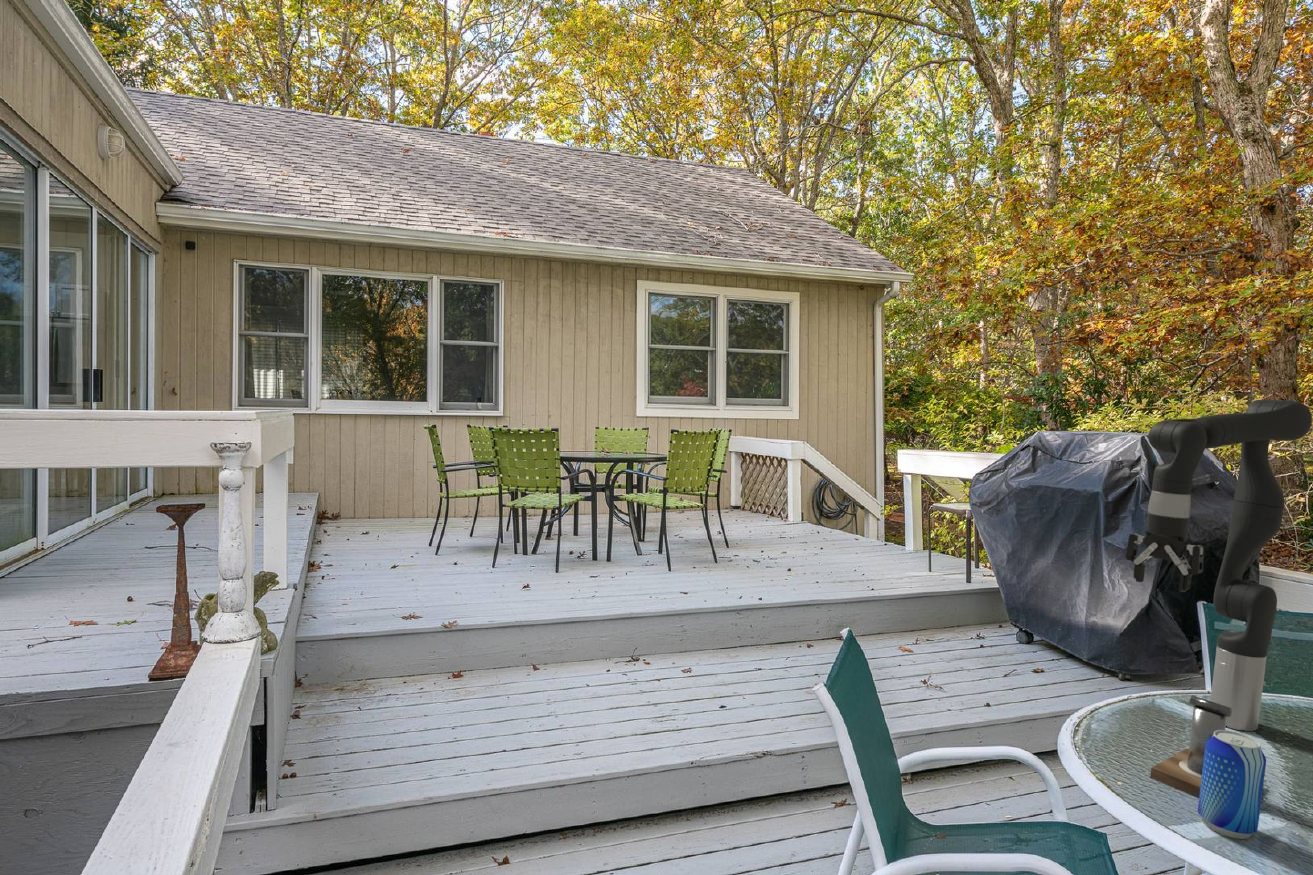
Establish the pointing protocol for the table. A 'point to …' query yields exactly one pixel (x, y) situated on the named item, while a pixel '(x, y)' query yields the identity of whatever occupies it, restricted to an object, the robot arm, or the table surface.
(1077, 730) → the table surface
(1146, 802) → the table surface
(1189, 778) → the block
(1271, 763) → the table surface
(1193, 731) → the grey cylinder
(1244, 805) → the beer can
